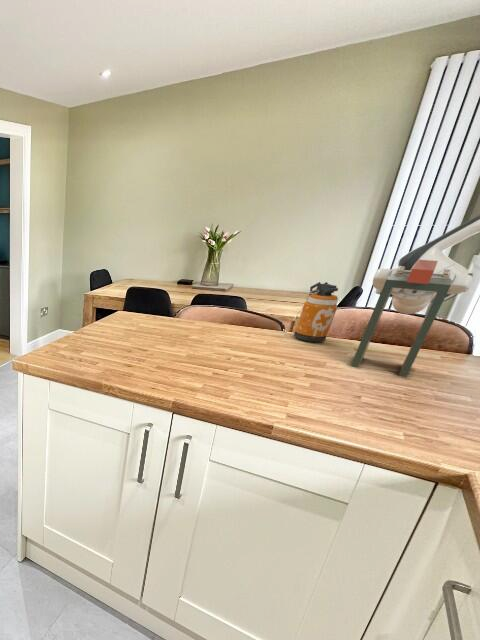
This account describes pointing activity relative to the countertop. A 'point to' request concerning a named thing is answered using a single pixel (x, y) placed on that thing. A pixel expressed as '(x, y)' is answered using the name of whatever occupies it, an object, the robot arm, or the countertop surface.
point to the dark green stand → (434, 285)
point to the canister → (317, 313)
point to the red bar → (422, 271)
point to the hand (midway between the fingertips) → (423, 270)
